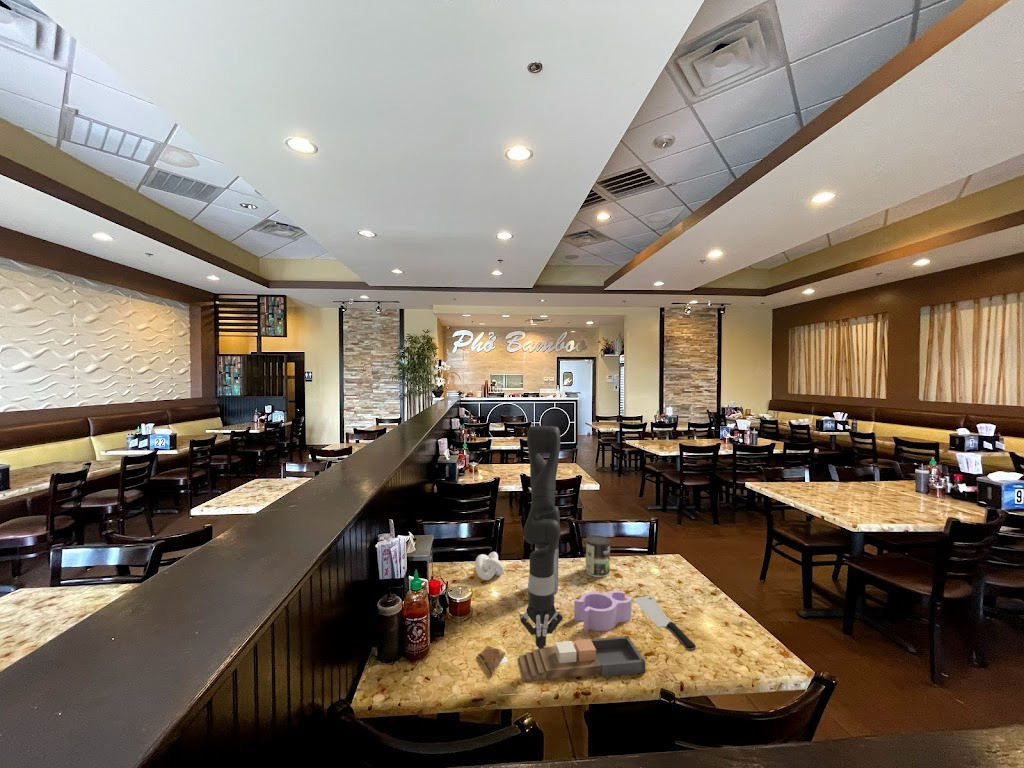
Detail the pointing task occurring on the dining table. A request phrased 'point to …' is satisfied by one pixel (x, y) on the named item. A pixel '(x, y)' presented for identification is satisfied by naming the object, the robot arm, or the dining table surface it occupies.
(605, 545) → the coffee can
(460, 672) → the dining table surface
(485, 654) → the shard
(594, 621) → the purple double cup holder
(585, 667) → the board
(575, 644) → the tile terracotta
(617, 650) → the box
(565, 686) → the dining table surface
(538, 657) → the brown stairs
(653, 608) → the kitchen cleaver
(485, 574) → the white knot
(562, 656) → the tile cream
